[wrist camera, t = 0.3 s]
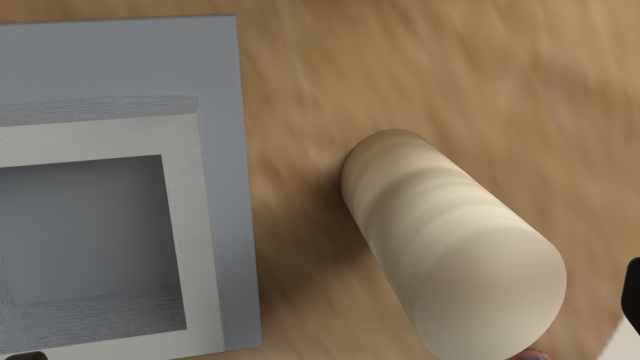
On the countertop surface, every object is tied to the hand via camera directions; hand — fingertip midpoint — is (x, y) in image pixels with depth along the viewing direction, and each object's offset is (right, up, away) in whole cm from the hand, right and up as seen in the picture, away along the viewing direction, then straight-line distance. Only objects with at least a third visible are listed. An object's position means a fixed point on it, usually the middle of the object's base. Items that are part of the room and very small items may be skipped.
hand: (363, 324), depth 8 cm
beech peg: (+2, +2, +14) cm, 15 cm away
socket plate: (-9, +1, +12) cm, 16 cm away
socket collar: (-9, +1, +12) cm, 16 cm away
